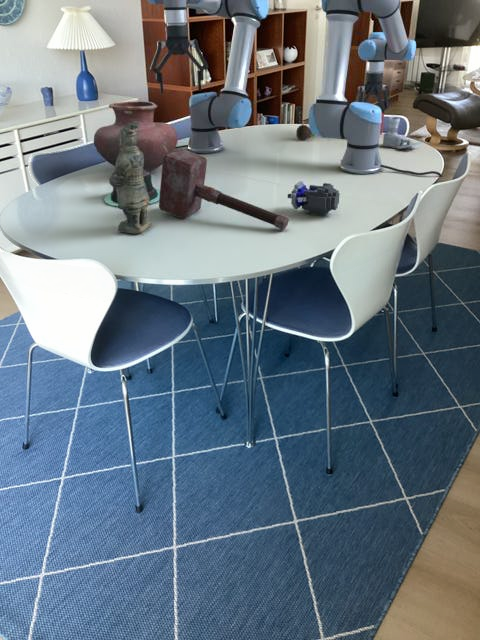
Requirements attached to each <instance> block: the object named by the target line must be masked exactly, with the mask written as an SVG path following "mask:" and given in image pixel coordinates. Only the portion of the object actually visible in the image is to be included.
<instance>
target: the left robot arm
mask: <svg viewBox="0 0 480 640" xmlns="http://www.w3.org/2000/svg"><path fill="white" fill-rule="evenodd" d="M146 1H147V2H148V3H149V4H151V5H163V10H164V14H163V15H164V23H165V41H160V40H158V41H157V42H156V46H157V47H156V49H155V50H156V51H155V53H154V56H153V59H152V61H151V64H150V68H149V70H150V71H151V72H153V73H155V81H156V83H157V84H159V90H160V94H164V83H163V74H162V71H161V70H162V69H163V67H165V64H166V63H167V61H168V60H169V58H170V57H171V56H172V55H173V56H178V55H179V56H184V55H186V56H187V57H188V58H189V59H190V61H192V63H193V64H194V65H195V67H196V68H197V69H198V70H197V71H196V75H197V76H196V77H197V91H199V92H202V82H203V81H204V79H205V78H204V77H205V76H204V71H205V70H208V69H209V65H208V63H207V61H206V59H205V57H204V55H203V53H202V50H201V49H200V47H199V42H198V40H197V39H193V40H189V28H188V25H187V23H188V11H187V9H193V10H198V11H199V10H200V11H204V13H206V14H208V15H213V16H217V17H221V18H225V19H231V22H232V23H233V25H234V26H233V33H232V39H231V46H230V50H229V58H228V63H227V70H226V77H225V82H224V87H223V88H221V90H220V92H219V96H218V93H217V92H215V91H210V92H202V93H195V94H193V95H191V96H190V97H189V101H188V102H189V104H188V108H189V118H190V119H189V122H190V134H189V135H190V136H189V139H188V144H184V145H178V146H177V145H176V147H175V149H174V150H179V149H184V148H187V151H190V152H192V153H195V154H214V153H218V152H221V151H223V150H224V142H223V140H222V138H221V135H220V133H219V127H220V128H221V127H222V128H229V129H242V128H244V127H245V126H246V125H247V124H248V123H249V121H250V119H251V115H252V112H253V111H252V110H253V108H252V102H251V100H250V99H249V94H248V93H247V91H246V88H247V83H248V77H249V71H250V65H251V59H252V53H253V47H254V41H255V35H256V30H257V29H258V28H259V27H260V26H261V21H262V20H264V19H266V18H267V16H268V14H269V10H270V9H269V7H270V5H269V0H146ZM190 46H191V47H192V48H194V50H195V52H196V55H197V56H198V58H199V60H200V62H201V64H202V65H201V64H200V62H199V61H198V60H197V58H195V57H194V55H193V54H192V53H191V52H190V50H189V47H190ZM165 47H166V49H168V50H167V51H166V53H165V54H164V56H163V57H162V59H161V61H160V62H159V64H158V65H157V63H158V61H159V58H160V54H161V52H162V49H164V48H165Z"/></svg>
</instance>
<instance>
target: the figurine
mask: <svg viewBox="0 0 480 640" xmlns="http://www.w3.org/2000/svg"><path fill="white" fill-rule="evenodd" d="M305 123H306V122H305V120H302V123H301V125H298V127H297V128H296V132H295V135H296V137H297V139H298V140H302V141H304V140H308V139H310V138H311V137H312V136H313V134H312V132H311V130H310V127H309V125H305Z"/></svg>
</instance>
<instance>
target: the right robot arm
mask: <svg viewBox="0 0 480 640" xmlns="http://www.w3.org/2000/svg"><path fill="white" fill-rule="evenodd" d="M320 1H321V9H322V11H323V12H324V13H325V18H326V20H327V21H328V29H327V40H326V47H325V55H324V65H323V73H322V80H321V82H322V83H321V91H320V94H319V95H318V96H317V97H316V99H315V103H313V104H311V105H310V108H309V110H308V127H310V130H311V132H312V136H315V137H320V138H323V139H324V138H325V139H338V140H339V139H340V140H346V149H345V151H344V154H343V156H342V158H341V160H340V170H341V171H343V172H345V173H349V174H355V175H356V174H357V175H369V174H370V175H371V174H376V173H378V172H380V171H382V168H383V169H386V170H391V171H394V172H398V173H402V174H403V173H404V174H409V175H414V176H426V175H431V174H433V175H437V176H439V177H440V178H444V176H443V174H442V173H441V172H439V171H435V170H429V171H424V172H415V171H411V170H406V169H405V170H403V169H399V168H395V167H392V166H388V165H385V164H382V161H381V155H380V150H379V147H380V145H379V144H380V138H381V137H380V136H381V135H380V128H381V122H382V120H381V115H382V113H383V114H384V115H385V111H386V110H387V109H389V108H390V102H389V85H388V84H383V80H384V71H385V61H400V62H401V61H402V62H405V61H413V59H414V57H415V55H416V50H417V43H416V41H415V40H414V39H408V36H407V34H406V33H407V32H406V29H405V26H404V22H403V18H402V14H401V11H400V5H401V0H320ZM360 13H372V14H373V15H374V17H375V18H377V19H378V22H379V24H380V27H381V30H382V31H379V32H377V31H376V32H375V31H374V32H370V33H369V35H368V39H365V40H363V41H362V42H361V43H360V44H359V46H358V49H357V54H358V57H359V58H360V59H361V60H362V61H366V68H365V71H366V72H365V77H364V78H365V79H364V85H362V86H360V85H359V86H358V87H357V94H356V97H355V101H353V102H351V103H350V104H349V106H348V100H347V98H346V96H345V91H346V83H347V77H348V76H347V75H348V67H349V61H350V53H351V47H352V46H351V45H352V39H353V31H354V23H356V22H357V21H359V16H360ZM381 90H382V94H381ZM364 91H365V92H364ZM363 92H364V93H363ZM370 96H375V97H376V101H377V103H378V105H376V104H373V103H370V102H367V101H368V99H369V98H370ZM382 97H383V98H382Z"/></svg>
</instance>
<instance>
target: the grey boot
mask: <svg viewBox="0 0 480 640" xmlns="http://www.w3.org/2000/svg"><path fill="white" fill-rule="evenodd" d="M400 121H401V118H400V117H398V116H391V117H389V120H388V132H385V133H384V134H383V138H382V146H383V147H385V148H386V147H387V148H393V149H396V150H402V149H410V148H411V149H412V148H413V147H416V146H418V145H422V142H420V141H419V142H413V139H411V138H407V137H406V136H405V135H404V134H399V133H398V132H399V131H398V130H399V125H400Z"/></svg>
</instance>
